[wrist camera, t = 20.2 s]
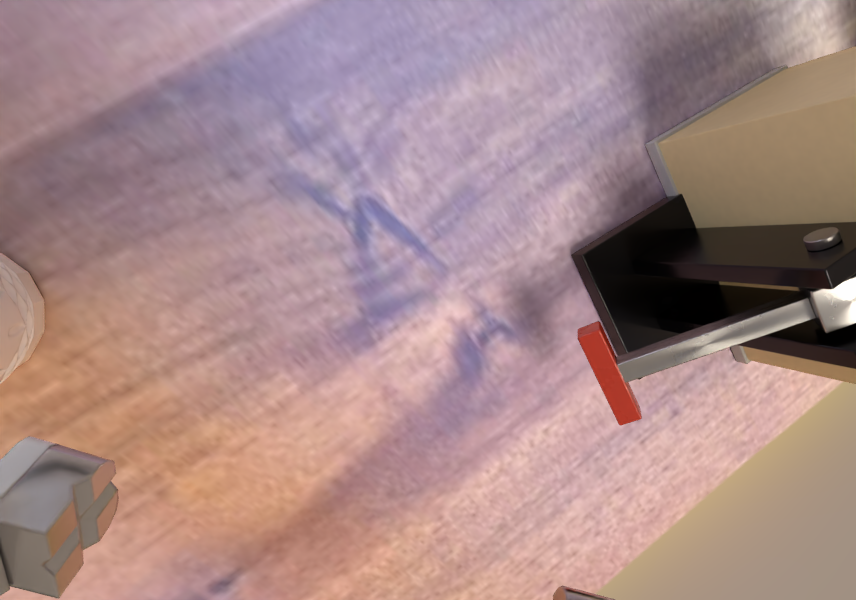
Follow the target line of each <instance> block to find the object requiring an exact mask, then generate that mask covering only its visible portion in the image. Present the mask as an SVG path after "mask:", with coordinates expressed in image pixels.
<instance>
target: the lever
mask: <svg viewBox="0 0 856 600" xmlns="http://www.w3.org/2000/svg"><path fill="white" fill-rule="evenodd" d="M798 290H799V292H797V293H794V294H791V295H788V296H785V297H783V298H780V299H777V300H774V301H771V302H769V303H766V304H763V305H760V306H757V307H755V308H752V309H749V310H746V311H743V312H741V313H738V314H735V315H732V316H729V317H727V318H724V319H721V320H718V321H715V322H713V323H710V324H707V325H704V326H701V327H699V328H696V329H693V330H690V331H687V332H685V333H682V334H679V335H676V336H673V337H671V338H668V339H665V340H662V341H659V342H657V343H654V344H651V345H648V346H645V347H643V348H640V349H637V350H634V351H631V352H629V353H626V354H623V355H620V356H617V357H616V355H615V353H614V351H613V349H612V347H611V345H610V343H609V341H608V338H607V336H606V334H605V332H604V330H603V328H602V326H601V323H600V322H599V321H598V322H595V323H592V324H590V325H587V326H585V327H582V328H579V329H578V340H579V342H580V345H581V347H582V349H583V351H584V353H585V355H586V357H587V359H588V361H589V363H590V365H591V367H592V369H593V372H594V374H595V376H596V378H597V380H598V382H599V384H600V386H601V388H602V390H603V392H604V394H605V396H606V399H607V401H608V403H609V405H610V407H611V409H612V411H613V413H614V415H615V417H616V419H617V421H618V423H619V425H623V424H626V423H630V422H633V421H636V420H639V419H641V418H642V417H641V411H640V407H639V404H638V402H637V400H636V398H635V396H634V394H633V392H632V390H631V387H630V385H629V383H628V382H629V381H632V380H635V379H638V378H641V377H644V376H647V375H650V374H653V373H656V372H659V371H662V370H665V369H668V368H670V367H673V366H676V365H679V364H682V363H685V362H688V361H691V360H694V359H697V358H700V357H703V356H706V355H709V354H712V353H714V352H717V351H720V350H723V349H726V348H729V347H732V346H735V345H738V344H741V343H744V342H747V341H750V340H753V339H756V338H759V337H761V336H764V335H767V334H770V333H773V332H776V331H779V330H782V329H785V328H788V327H791V326H794V325H797V324H800V323H803V322H805V321H808V320H811V319H813V320H814V321H815V322H816V323H817V324H818V325H819V326H820V327H821V328H822V329H823V331H824V332H825V333H830V332H833V331H836V330H839V329H842V328H845V327H848V326H851V325H854V324H856V274H854V275H853V276H851V277H850V278H848V279H847V280H846V281H844V282H843V283H841V284H840V285H838V286H837V287H836V288H834V289H832V290H829V289H815V288H802V287H798Z"/></svg>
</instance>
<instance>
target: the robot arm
mask: <svg viewBox="0 0 856 600" xmlns="http://www.w3.org/2000/svg"><path fill="white" fill-rule="evenodd" d="M115 474H116V469H115V463H114V461H112V460H109V459H106V458H102V457H99V456H95V455H92V454H88V453H85V452H82V451H78V450H75V449H71V448H68V447H65V446H61V445H59V444H56V443H52V442H48V441H45V440H41V439H37V438H34V437H30V436H29V437H27V438H25V439H23V440H21V441H20V442H18V443H17V444H16V445H15V446H14V447H13V448H12V449H11V450H10V451H9V452H8V453H7V454H6V455H5V456H4V457H3V458H2V459H1V460H0V595H2V594H4V593H5V592H7V591H8V590H10V587H9V586H11V587H15V588H19V589H23V590H27V591H31V592H35V593H39V594H43V595H47V596H51V597H55V598H60V596H61V595H62V593H63V592H64V591H65V589H66V588H67V586H68V585H69V584H70V582H71V581H72V579H73V578H74V577H75V575H76V574H77V572H78V571H79V570H80V568H81V567H82V565H83V564H84V563H83V550H84V549H86V548H88V547H90V546H92V545H93V544H95V543H97V542H99V541H100V540H101V538H102V537H103V535H104V534H105V532H106V531H107V529H108V528H109V526H110V524H111V522H112V519H113V517H114V515H115V513H116V510H117V504H118V499H119V498H118V489H117V488H116V487H115V486H114V485H113V483H112V482H111V480H112V478H113V477H114V476H115ZM553 600H615V599H611V598H608V597H604V596H600V595H596V594H592V593H588V592H585V591H581V590H577V589H573V588H569V587H565V586H561V587H559V588H558V589H557V590H556V592H555V593H554V595H553Z"/></svg>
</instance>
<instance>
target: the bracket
mask: <svg viewBox="0 0 856 600" xmlns="http://www.w3.org/2000/svg"><path fill="white" fill-rule="evenodd" d="M572 258H573V260H574V262H575V264H576V266H577V269H578V271H579V273H580V275H581V277H582V279H583V281H584V284H585V286H586V288H587V290H588V292H589V294H590V296H591V298H592V301H593V303H594V305H595V307H596V309H597V311H598V313H599V316H600V318H601V320H602V322H603V324H604V326H605V328H606V330H607V333H608V335H609V337H610V339H611V341H612V343H613V345H614V348H615V350H616V352H617V354H618V356H620V355H623V354H626V353H629V352H631V351H634V350H637V349H640V348H643V347H645V346H648V345H651V344H654V343H657V342H659V341H662V340H665V339H668V338H671V337H673V336H676V335H679V334H682V333H685V332H687V331H690V330H693V329H696V328H699V327H701V326H704V325H707V324H710V323H713V322H715V321H718V320H721V319H724V318H727V317H729V316H732V315H735V314H738V313H741V312H743V311H746V310H749V309H752V308H755V307H757V306H760V305H763V304H766V303H769V302H771V301H774V300H777V299H780V298H783V297H785V296H788V295H791V294H794V293H797V292H799V291H794V290H782V289H770V288H757V287H745V286H733V285H720V284H719V281H721V282H735V283H748V284H761V285H775V286H788V287H802V288H815V289H829V290H832V289H834V288H836V287H837V286H838V285H840V284H841V283H843V282H844V281H846V280H847V279H848V278H850V277H851V276H853V275H854V274H856V222H837V223H811V224H786V225H760V226H735V227H710V228H696V226H695V223H694V221H693V219H692V216H691V214H690V211H689V209H688V207H687V204H686V202H685V199H684V197H683V195H682V194H678V195H676V196H668V197H666V198H664V199H662V200H661V201H659V202H657V203H656V204H654V205H652V206H651V207H649V208H647V209H646V210H644V211H643V212H641V213H639V214H638V215H636V216H634V217H633V218H631V219H629V220H628V221H626V222H625V223H623V224H621V225H620V226H618V227H616V228H615V229H613V230H611V231H610V232H608V233H606V234H605V235H603V236H602V237H600V238H598V239H597V240H595V241H593V242H592V243H590V244H588V245H587V246H585V247H583V248H582V249H580V250H579V251H577V252H575V253H574V254H572ZM738 346H743V347H748V348H753V349H758V350H763V351H768V352H773V353H778V354H783V355H788V356H793V357H798V358H803V359H808V360H813V361H818V362H823V363H828V364H832V365H837V366H842V367H847V368H852V369H856V324H854V325H851V326H848V327H845V328H842V329H839V330H836V331H833V332H830V333H825V332H824V331H823V329H822V328H821V327H820V326H819V325H818V324H817V323H816V322H815V321H814V320H813V319H811V320H808V321H805V322H803V323H800V324H797V325H794V326H791V327H788V328H785V329H782V330H779V331H776V332H773V333H770V334H767V335H764V336H761V337H759V338H756V339H753V340H750V341H747V342H744V343H741V344H738ZM641 378H642V377H641ZM641 378H638V379H641Z"/></svg>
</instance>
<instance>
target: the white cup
mask: <svg viewBox="0 0 856 600" xmlns="http://www.w3.org/2000/svg"><path fill="white" fill-rule="evenodd" d="M44 331H45V315H44V299H43V297H42V295H41V294H40V292H39V290H38V288H37V286H36V285H35V283H34V281H33V279H32V277H31V276H30V274H29V272H27V271H26V270H25V269H23V268H22V267H20V266H19V265H18V264H16V263H15V262H13V261H12V260H11V259H9V258H8V257H6V256H5V255H4V254H2V253H1V252H0V384H1V383H2V382H4V381H5V380H6V379H7V378H8V377H9V376H10V375H11V373H12V372H13V371H14V370H15V369H16V368H17V367H19V366H20V365H22V364H23V363H24V362H26V361H27V360H29V359H30V357H31V355H32V354H33V352H34V350H35V348H36V346H37V344H38V342H39V341H40V339H41V337H42V335H43V333H44Z"/></svg>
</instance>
